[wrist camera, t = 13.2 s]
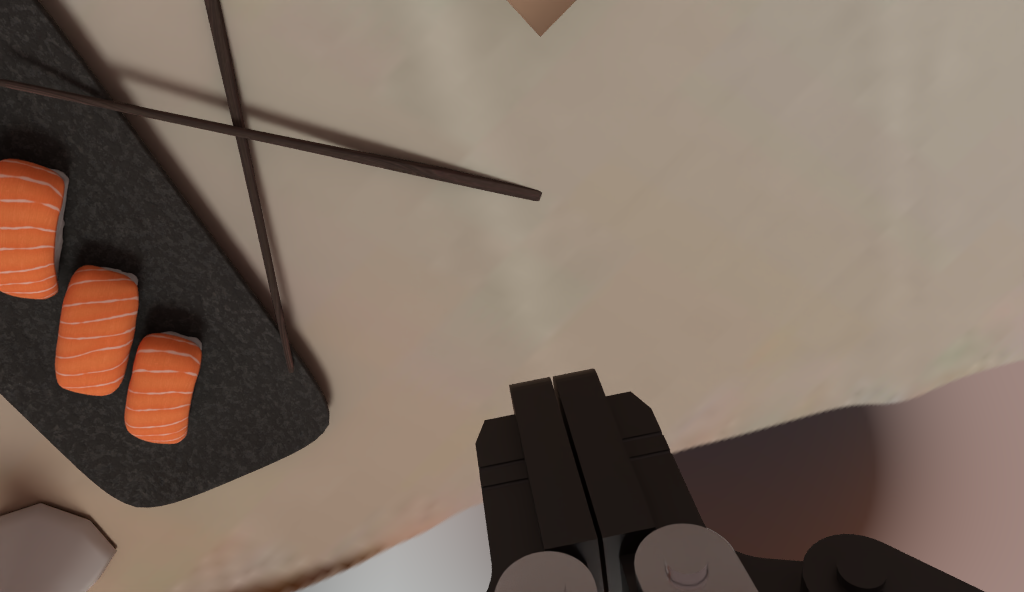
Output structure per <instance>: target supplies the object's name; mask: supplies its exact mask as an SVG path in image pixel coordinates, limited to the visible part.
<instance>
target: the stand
mask: <svg viewBox="0 0 1024 592" xmlns="http://www.w3.org/2000/svg"><path fill="white" fill-rule="evenodd" d="M507 1H508V2H509V3H510V4H511V5H512V6H513V8H514V9H515V10H516V11H517V12H518V13H519V14H520V15H521V16H522V17H523V18H524V19H525V21H526V22H527V23H528V24H529V25H530V26H531V27H532V28H533V29H534V30H535V31H536V33H537V34H538V35H539V36H540V37H541V36H542V34H543V33H544V32H545V31H546V30H547V29H548V28H549V27H550V26H551V25H552V24H553V23H554V22H555V21H556V20H557V19H558V18H559V17H560V16H561V15H562V14H563V13H564V12H565V11H566V10H567V9H568V8H569V7H570V6H571V5H572V4H573V3H574V2H575V1H576V0H507Z"/></svg>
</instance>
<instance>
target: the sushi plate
mask: <svg viewBox="0 0 1024 592" xmlns="http://www.w3.org/2000/svg"><path fill="white" fill-rule="evenodd" d="M204 1H205V6H206V10H207V14H208V19H209V23H210V27H211V32H212V36H213V40H214V45H215V49H216V53H217V58H218V62H219V66H220V71H221V75H222V79H223V84H224V88H225V92H226V97H227V101H228V105H229V109H230V114H231V118H232V122H233V126H231V125H226V124H222V123H217V122H212V121H207V120H202V119H197V118H192V117H188V116H183V115H178V114H173V113H168V112H163V111H158V110H154V109H149V108H144V107H139V106H134V105H129V104H124V103H120V102H115V101H113V100H112V99H111V97H110V96H109V94H108V93H107V92H106V90H105V89H104V88H103V86H102V85H101V84H100V82H99V81H98V79H97V78H96V77H95V75H94V74H93V73H92V71H91V70H90V69H89V67H88V66H87V65H86V63H85V62H84V60H83V59H82V58H81V56H80V55H79V54H78V52H77V51H76V50H75V48H74V47H73V46H72V44H71V43H70V41H69V40H68V39H67V38H66V36H65V35H64V34H63V32H62V31H61V30H60V28H59V27H58V26H57V24H56V23H55V22H54V20H53V19H52V18H51V17H50V15H49V14H48V13H47V12H46V10H45V9H44V8H43V7H42V5H41V4H40V3H39V2H38V0H0V394H1V395H2V396H3V397H4V398H5V399H6V400H7V401H9V402H10V403H11V404H12V405H13V406H14V407H15V408H16V409H17V410H18V411H19V412H20V413H21V414H22V415H23V416H24V417H25V418H26V419H27V420H28V421H29V422H30V423H31V424H32V425H33V426H34V427H35V428H36V429H37V430H38V431H39V432H40V433H41V434H42V435H44V436H45V437H46V438H47V439H48V440H49V441H50V442H51V443H52V444H53V445H54V446H55V447H56V448H57V449H58V450H59V451H60V452H61V453H62V454H63V455H64V456H65V457H66V458H68V459H69V460H70V461H71V462H72V463H73V464H74V465H75V466H76V467H77V468H78V469H79V470H80V471H81V472H83V473H84V474H85V475H86V476H87V477H88V478H89V479H90V480H92V481H93V482H94V483H95V484H96V485H98V486H99V487H100V488H101V489H103V490H104V491H105V492H107V493H108V494H110V495H111V496H113V497H114V498H116V499H118V500H120V501H122V502H124V503H126V504H129V505H132V506H135V507H157V506H163V505H167V504H171V503H175V502H178V501H181V500H184V499H187V498H190V497H192V496H195V495H198V494H200V493H203V492H205V491H208V490H210V489H213V488H215V487H218V486H220V485H222V484H225V483H227V482H230V481H232V480H234V479H237V478H239V477H241V476H244V475H246V474H248V473H251V472H253V471H256V470H258V469H260V468H263V467H265V466H267V465H269V464H271V463H274V462H276V461H278V460H280V459H282V458H285V457H287V456H289V455H291V454H293V453H295V452H297V451H298V450H300V449H302V448H304V447H306V446H307V445H309V444H310V443H312V442H313V441H315V440H316V439H317V438H318V437H319V436H320V435H321V434H322V433H323V432H324V431H325V429H326V428H327V426H328V425H329V409H328V405H327V402H326V400H325V397H324V395H323V393H322V391H321V389H320V387H319V386H318V384H317V382H316V380H315V379H314V377H313V376H312V374H311V373H310V371H309V370H308V368H307V367H306V365H305V364H304V362H303V361H302V360H301V358H300V357H299V355H298V354H297V352H296V351H295V350H294V348H293V347H292V345H291V344H290V343H289V340H288V335H287V331H286V326H285V321H284V316H283V311H282V306H281V302H280V297H279V292H278V287H277V282H276V277H275V272H274V268H273V263H272V258H271V253H270V248H269V243H268V238H267V234H266V229H265V224H264V219H263V214H262V209H261V205H260V200H259V195H258V190H257V185H256V180H255V175H254V170H253V165H252V160H251V155H250V150H249V145H248V141H247V139H252V140H256V141H261V142H266V143H270V144H275V145H280V146H284V147H289V148H294V149H298V150H303V151H307V152H312V153H316V154H321V155H326V156H330V157H335V158H339V159H344V160H348V161H353V162H357V163H362V164H366V165H371V166H375V167H380V168H384V169H389V170H393V171H398V172H402V173H407V174H412V175H416V176H421V177H425V178H430V179H435V180H439V181H444V182H449V183H453V184H458V185H462V186H467V187H472V188H476V189H481V190H486V191H490V192H495V193H500V194H504V195H509V196H514V197H519V198H524V199H528V200H533V201H539V200H540V197H541V195H542V192H540V191H538V190H534V189H530V188H526V187H522V186H518V185H514V184H510V183H505V182H501V181H497V180H493V179H489V178H485V177H480V176H476V175H472V174H468V173H464V172H459V171H455V170H451V169H446V168H442V167H437V166H432V165H427V164H422V163H417V162H412V161H407V160H402V159H397V158H392V157H387V156H381V155H376V154H371V153H366V152H361V151H356V150H351V149H346V148H341V147H336V146H331V145H325V144H320V143H315V142H310V141H305V140H300V139H295V138H290V137H285V136H280V135H275V134H271V133H266V132H261V131H256V130H251V129H246V128H245V126H244V121H243V116H242V111H241V106H240V101H239V96H238V91H237V85H236V80H235V75H234V70H233V65H232V60H231V55H230V50H229V45H228V40H227V35H226V30H225V25H224V20H223V15H222V10H221V5H220V1H219V0H204ZM122 112H124V113H129V114H134V115H138V116H143V117H148V118H153V119H157V120H162V121H167V122H171V123H176V124H181V125H186V126H190V127H195V128H200V129H205V130H209V131H214V132H219V133H223V134H228V135H233V136H236V140H237V144H238V149H239V153H240V157H241V162H242V166H243V171H244V175H245V180H246V184H247V189H248V193H249V198H250V202H251V206H252V211H253V215H254V220H255V224H256V229H257V233H258V238H259V242H260V247H261V251H262V256H263V260H264V265H265V269H266V274H267V278H268V283H269V287H270V292H271V296H272V301H273V305H274V310H275V314H276V319H277V323H278V326H277V325H276V323H275V322H274V321H273V319H272V318H271V316H270V315H269V314H268V312H267V311H266V310H265V308H264V307H263V305H262V304H261V303H260V301H259V300H258V299H257V297H256V296H255V294H254V293H253V292H252V290H251V289H250V288H249V286H248V285H247V284H246V282H245V281H244V279H243V278H242V277H241V275H240V274H239V273H238V271H237V270H236V268H235V267H234V266H233V264H232V263H231V262H230V260H229V259H228V257H227V256H226V255H225V253H224V252H223V251H222V249H221V248H220V247H219V245H218V244H217V242H216V241H215V240H214V238H213V237H212V236H211V234H210V233H209V231H208V230H207V229H206V227H205V226H204V225H203V223H202V222H201V221H200V219H199V218H198V216H197V215H196V214H195V212H194V211H193V210H192V208H191V207H190V205H189V204H188V203H187V201H186V200H185V199H184V197H183V196H182V194H181V193H180V192H179V190H178V189H177V188H176V186H175V185H174V184H173V182H172V181H171V179H170V178H169V177H168V175H167V174H166V173H165V171H164V170H163V168H162V167H161V166H160V164H159V163H158V162H157V160H156V159H155V157H154V156H153V155H152V153H151V152H150V151H149V149H148V148H147V147H146V145H145V144H144V142H143V141H142V140H141V138H140V137H139V136H138V134H137V133H136V131H135V130H134V129H133V127H132V126H131V125H130V123H129V122H128V120H127V119H126V118H125V116H124V115H123V114H122Z"/></svg>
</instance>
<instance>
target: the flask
mask: <svg viewBox="0 0 1024 592" xmlns="http://www.w3.org/2000/svg"><path fill="white" fill-rule="evenodd" d="M115 553H116V550H115V548H114V547H113V546H112V545H111V544H110V543H109V542H108V540H107V539H106V538H105V537H104V536H103V535H102V534H101V532H100V531H99V530H98V529H97V528H96V527H95V526H94V524H93V523H92V522H91V521H90V520H88V519H85V518H82V517H79V516H76V515H73V514H70V513H68V512H65V511H62V510H59V509H56V508H53V507H50V506H48V505H45V504H42V503H39V504H36V505H33V506H30V507H27V508H24V509H21V510H18V511H15V512H11V513H8V514H5V515H2V516H0V592H86V591H87V590H88V589H89V588H90V587H91V586H92V585H93V584H94V583H95V582H96V581H97V580H98V579H99V578H100V576H101V575H102V573H103V571H104V570H105V568H106V567H107V565H108V564H109V562H110V561H111V559H112V557H113V556H114V554H115Z"/></svg>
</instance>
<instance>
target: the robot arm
mask: <svg viewBox="0 0 1024 592" xmlns="http://www.w3.org/2000/svg"><path fill="white" fill-rule="evenodd" d="M553 385H554V388H553ZM553 385H552V381H551V378H550V377H547V378H542V379H537V380H532V381H527V382H522V383H517V384H512V385H509V387H510V393H511V398H512V404H513V409H514V415H509V416H504V417H499V418H494V419H489V420H485V421H484V424H483V426H482V429H481V431H480V434H479V436H478V439H477V441H476V451H477V458H478V466H479V473H480V481H481V488H482V495H483V503H484V510H485V518H486V524H487V532H488V540H489V547H490V555H491V562H492V576H491V581H490V584H489V588H488V590H487V592H984V591H982V590H980V589H978V588H976V587H974V586H972V585H969V584H967V583H965V582H963V581H961V580H959V579H957V578H955V577H953V576H951V575H949V574H947V573H945V572H943V571H941V570H938V569H936V568H934V567H932V566H930V565H928V564H926V563H924V562H922V561H920V560H917V559H916V558H914V557H911V556H909V555H907V554H905V553H903V552H901V551H899V550H897V549H895V548H893V547H891V546H889V545H887V544H884V543H882V542H880V541H877V540H875V539H872V538H869V537H865V536H860V535H854V534H840V535H833V536H829V537H826V538H824V539H822V540H819V541H818V542H817V543H815V544H814V545H813V546H812V547H811V548H810V549H809V550H808V551H807V553H806V555H805V557H804V560H803V561H790V560H778V559H766V558H758V557H753V556H748V555H745V554H742V553H740V552H737V551H735V550H733V548H732V547H731V545H730V544H729V543H728V542H727V541H726V540H725V539H724V538H723V537H721V536H720V535H718V534H717V533H715V532H714V531H712V530H710V529H707V528H706V526H705V524H704V523H703V521H702V519H701V516H700V514H699V512H698V510H697V508H696V506H695V503H694V501H693V499H692V497H691V495H690V493H689V491H688V488H687V486H686V484H685V482H684V479H683V477H682V475H681V473H680V470H679V469H678V466H677V464H676V462H675V459H674V457H673V455H672V454H671V453H670V449H669V446H668V444H667V442H666V440H665V438H664V435H662V432H661V429H660V427H659V424H658V422H657V420H656V418H655V416H654V414H653V411H652V409H651V408H650V407H649V406H648V405H646V404H645V403H644V402H643V401H641V400H640V399H639V398H638V397H637V396H635V395H634V394H633V393H632V392H625V393H620V394H615V395H610V396H605V394H604V391H603V388H602V386H601V383H600V381H599V378H598V375H597V373H596V371H595V369H588V370H583V371H578V372H573V373H568V374H563V375H558V376H553Z"/></svg>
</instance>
